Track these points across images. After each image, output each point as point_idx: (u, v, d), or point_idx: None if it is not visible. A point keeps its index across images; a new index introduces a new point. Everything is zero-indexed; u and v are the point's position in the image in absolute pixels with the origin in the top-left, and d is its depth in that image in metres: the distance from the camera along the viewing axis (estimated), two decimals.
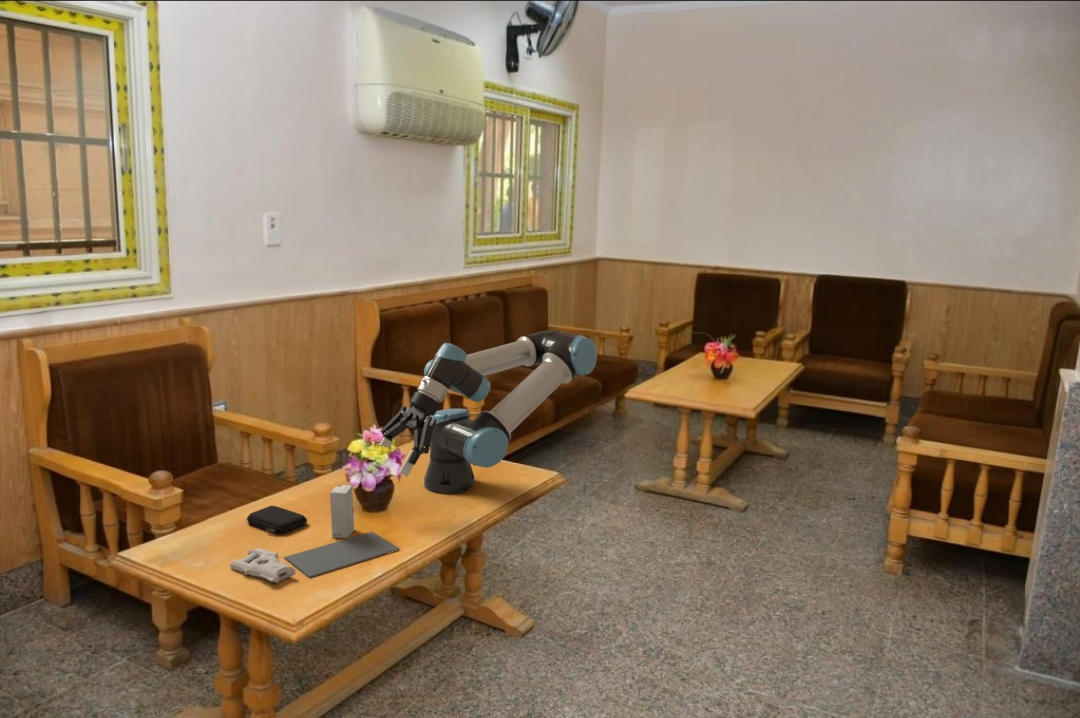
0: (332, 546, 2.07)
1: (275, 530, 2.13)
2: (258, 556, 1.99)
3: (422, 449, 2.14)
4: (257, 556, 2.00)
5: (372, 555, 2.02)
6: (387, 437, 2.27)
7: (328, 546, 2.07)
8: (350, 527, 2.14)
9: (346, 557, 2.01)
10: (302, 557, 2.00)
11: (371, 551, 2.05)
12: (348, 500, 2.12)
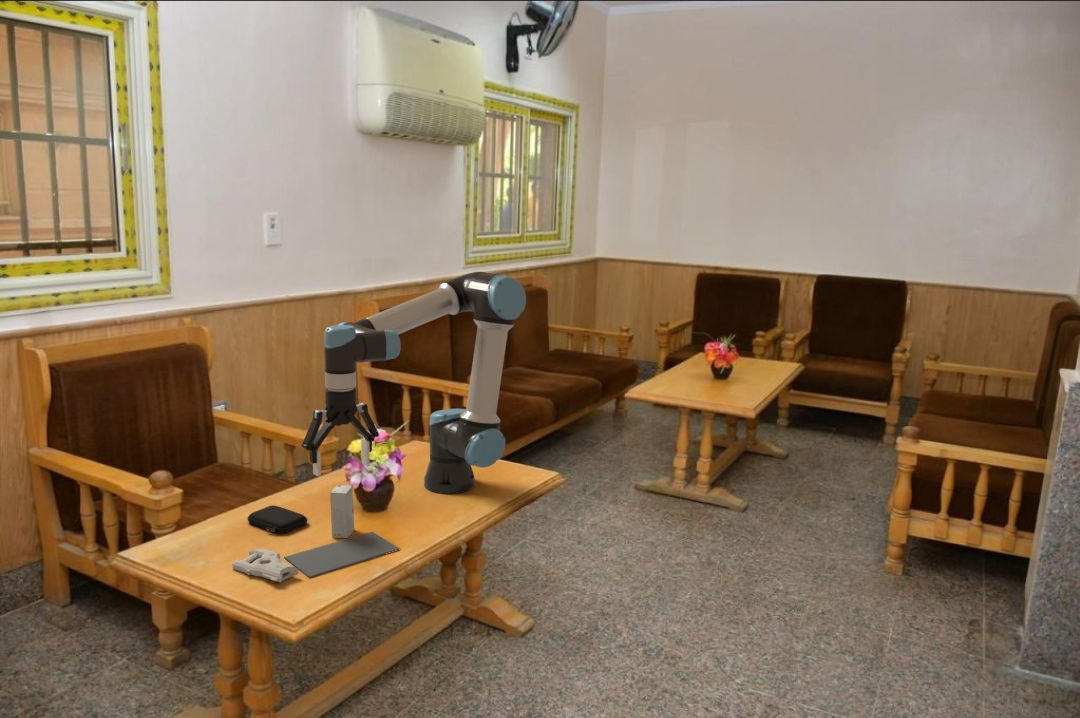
0: (332, 546, 2.07)
1: (275, 530, 2.13)
2: (260, 556, 1.99)
3: (302, 446, 2.05)
4: (259, 556, 1.99)
5: (372, 555, 2.02)
6: (366, 438, 2.16)
7: (328, 546, 2.07)
8: (350, 527, 2.14)
9: (346, 557, 2.01)
10: (302, 557, 2.00)
11: (371, 551, 2.05)
12: (348, 500, 2.12)
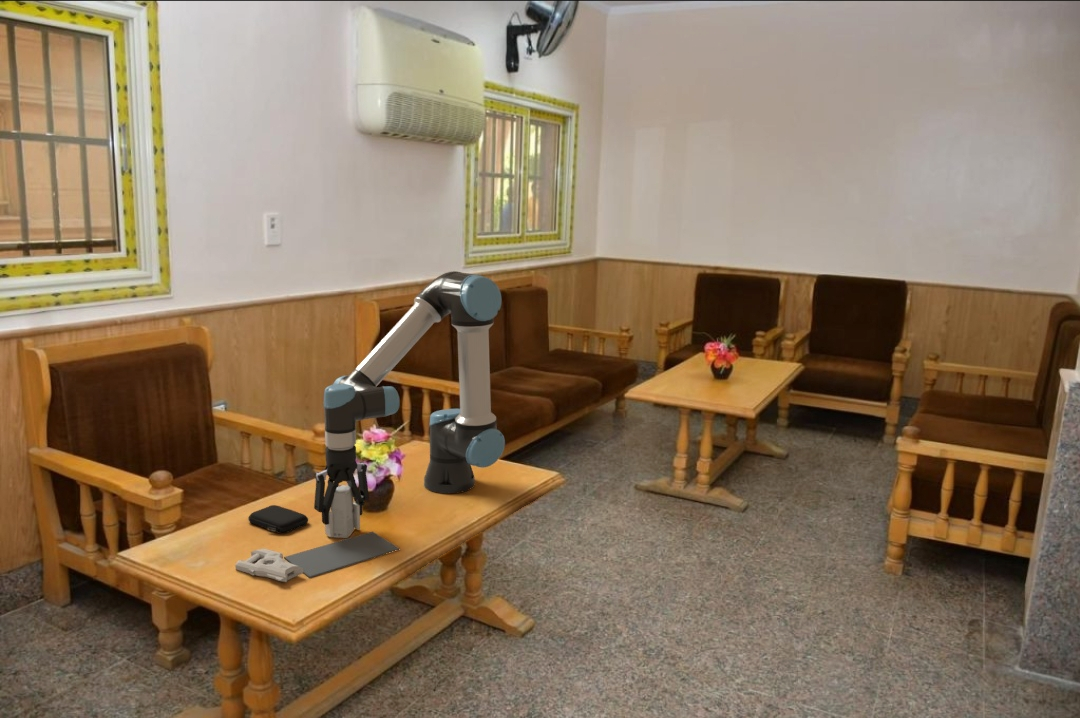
0: (332, 546, 2.07)
1: (276, 529, 2.14)
2: (262, 556, 1.99)
3: (315, 508, 2.10)
4: (261, 557, 1.99)
5: (372, 555, 2.02)
6: (356, 501, 2.17)
7: (328, 546, 2.07)
8: (350, 526, 2.14)
9: (346, 557, 2.01)
10: (302, 557, 2.00)
11: (371, 551, 2.05)
12: (348, 500, 2.13)
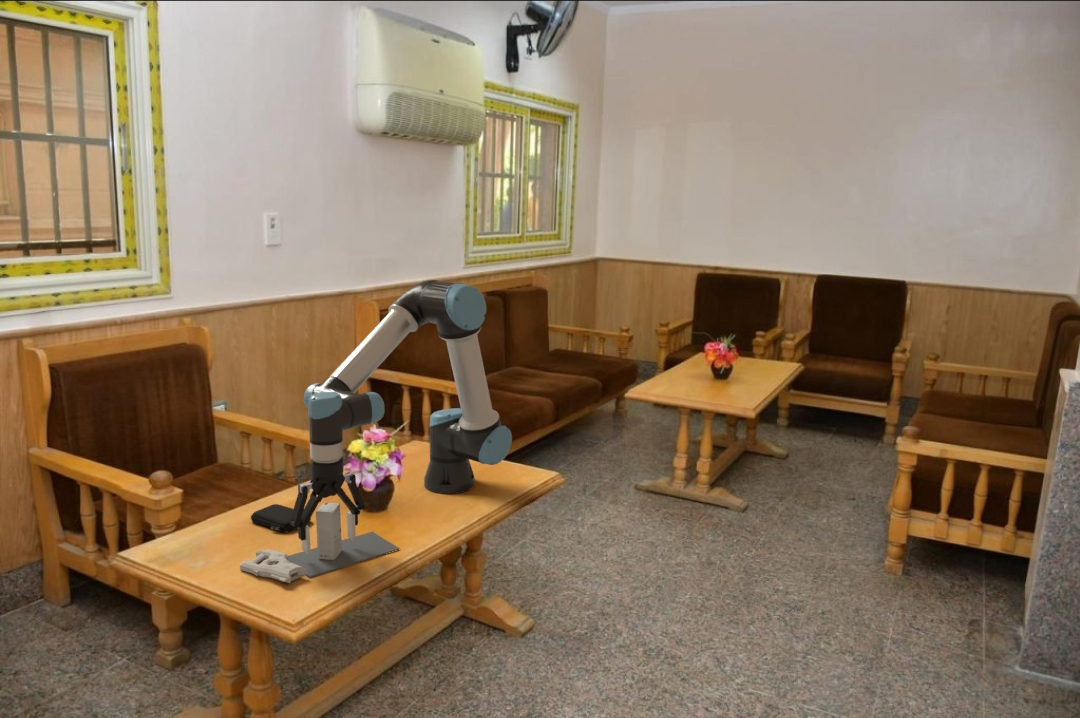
0: None
1: (280, 528, 2.14)
2: (267, 557, 1.99)
3: (290, 523, 1.95)
4: (266, 557, 1.99)
5: (372, 555, 2.02)
6: (351, 511, 2.05)
7: None
8: (337, 547, 2.01)
9: (346, 557, 2.01)
10: (302, 557, 2.00)
11: (371, 551, 2.05)
12: (335, 519, 1.99)
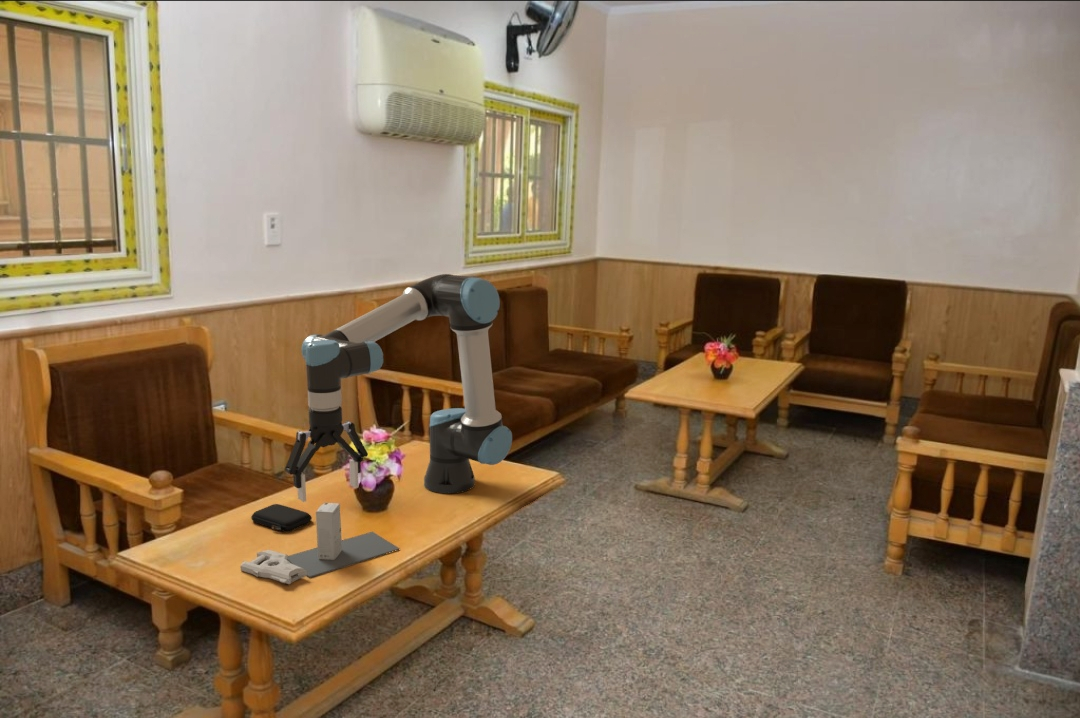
0: None
1: (281, 528, 2.15)
2: (267, 558, 1.99)
3: (285, 470, 1.92)
4: (266, 558, 1.99)
5: (372, 555, 2.02)
6: (354, 458, 2.03)
7: None
8: (337, 547, 2.01)
9: (346, 557, 2.01)
10: (302, 557, 2.00)
11: (371, 551, 2.05)
12: (335, 519, 1.99)
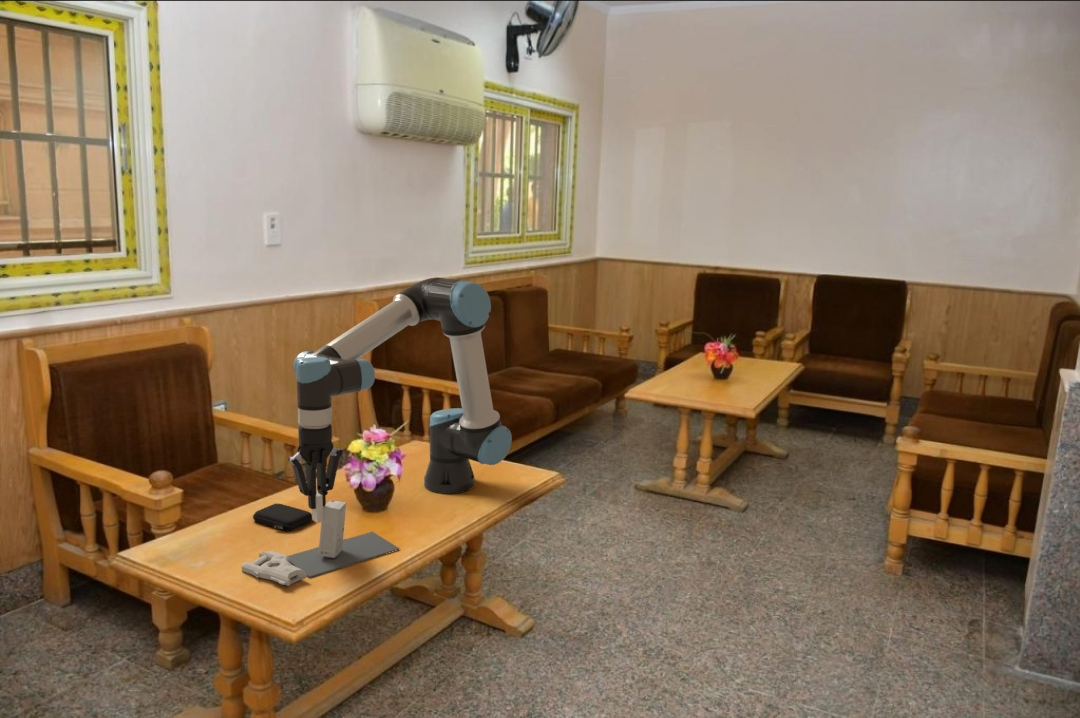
0: None
1: (283, 527, 2.15)
2: (269, 559, 1.98)
3: (300, 491, 1.95)
4: (268, 559, 1.98)
5: (372, 555, 2.02)
6: (319, 491, 1.98)
7: None
8: (338, 546, 2.01)
9: (346, 557, 2.01)
10: (302, 557, 2.00)
11: (371, 551, 2.05)
12: (340, 517, 2.00)
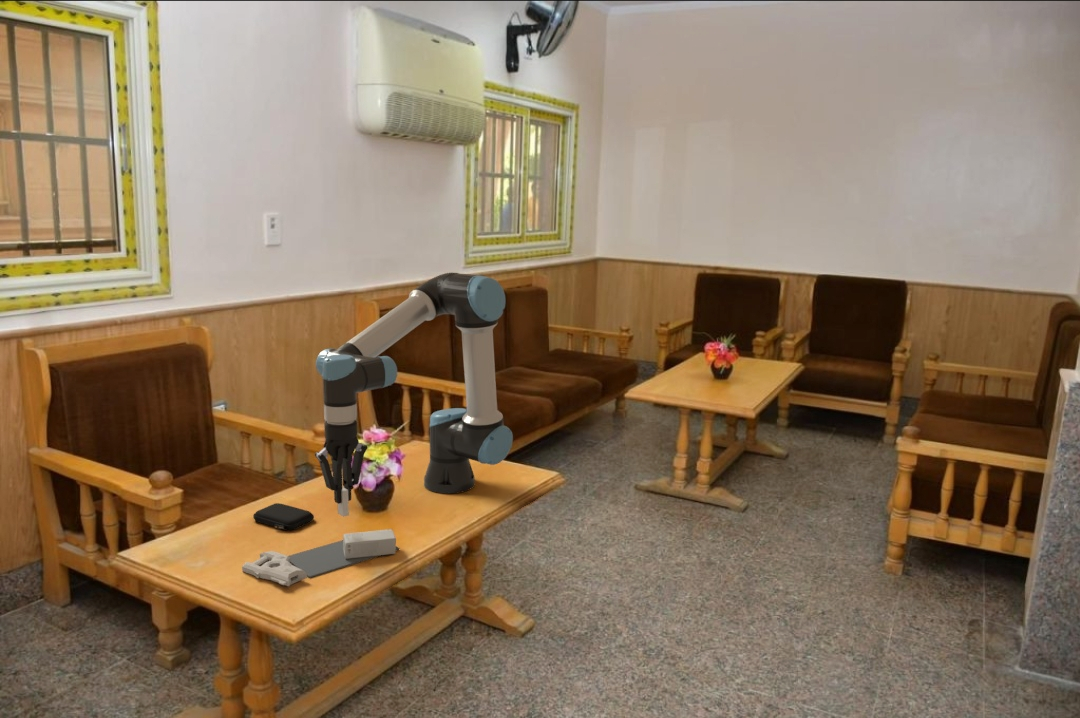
0: (332, 546, 2.07)
1: (284, 527, 2.15)
2: (270, 559, 1.98)
3: (327, 486, 2.00)
4: (269, 559, 1.98)
5: None
6: (344, 486, 2.02)
7: (328, 546, 2.07)
8: None
9: None
10: (302, 557, 2.00)
11: None
12: None
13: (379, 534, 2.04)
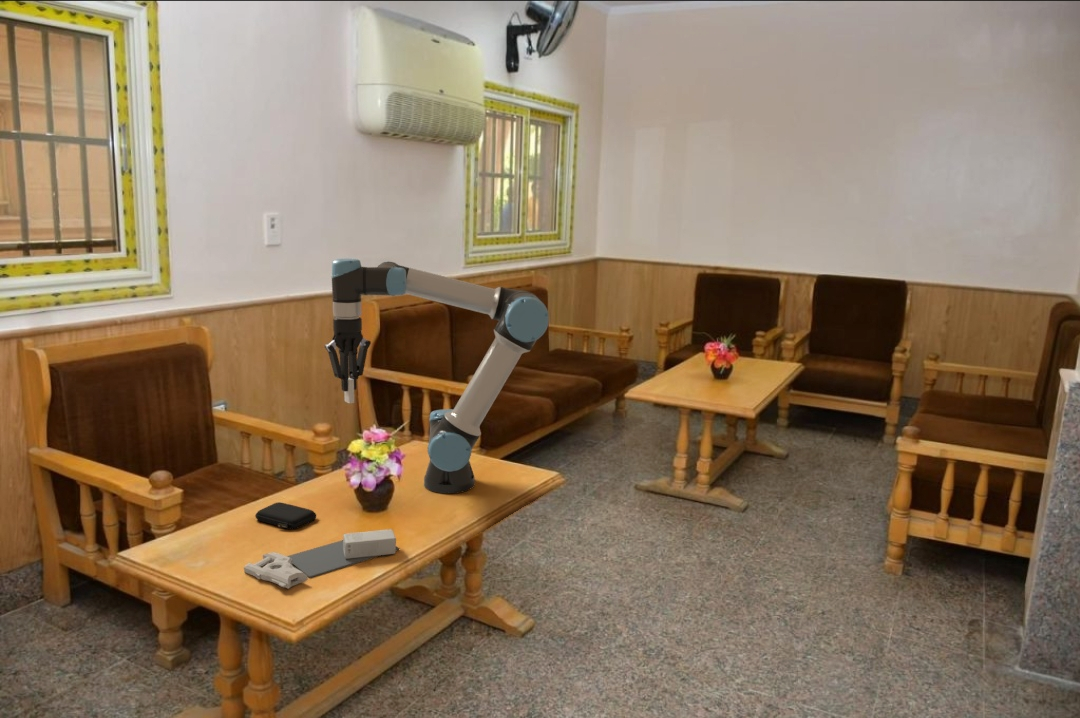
0: (332, 546, 2.07)
1: (287, 526, 2.16)
2: (272, 560, 1.97)
3: (335, 375, 2.26)
4: (271, 560, 1.98)
5: None
6: (350, 376, 2.29)
7: (328, 546, 2.07)
8: None
9: None
10: (302, 557, 2.00)
11: None
12: None
13: (379, 534, 2.04)
